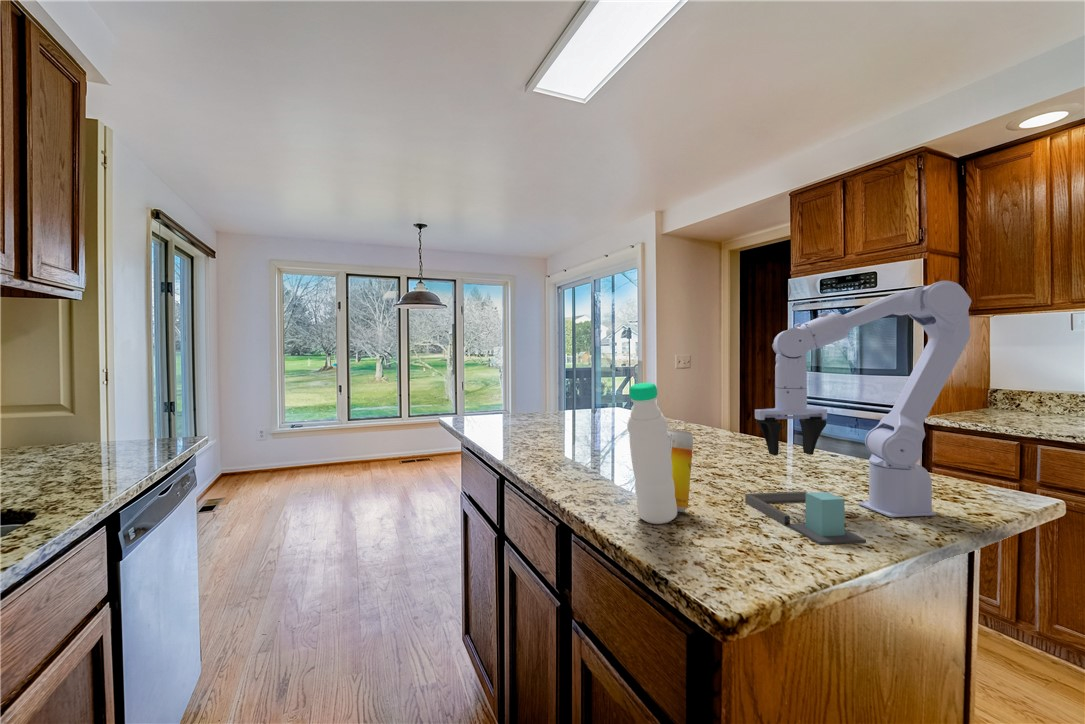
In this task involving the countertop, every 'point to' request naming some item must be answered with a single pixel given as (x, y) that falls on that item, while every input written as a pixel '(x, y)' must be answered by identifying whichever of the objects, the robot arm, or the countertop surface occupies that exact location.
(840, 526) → the teal block
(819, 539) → the rubber pad
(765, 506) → the outer rail
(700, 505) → the countertop surface
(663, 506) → the water bottle
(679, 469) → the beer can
